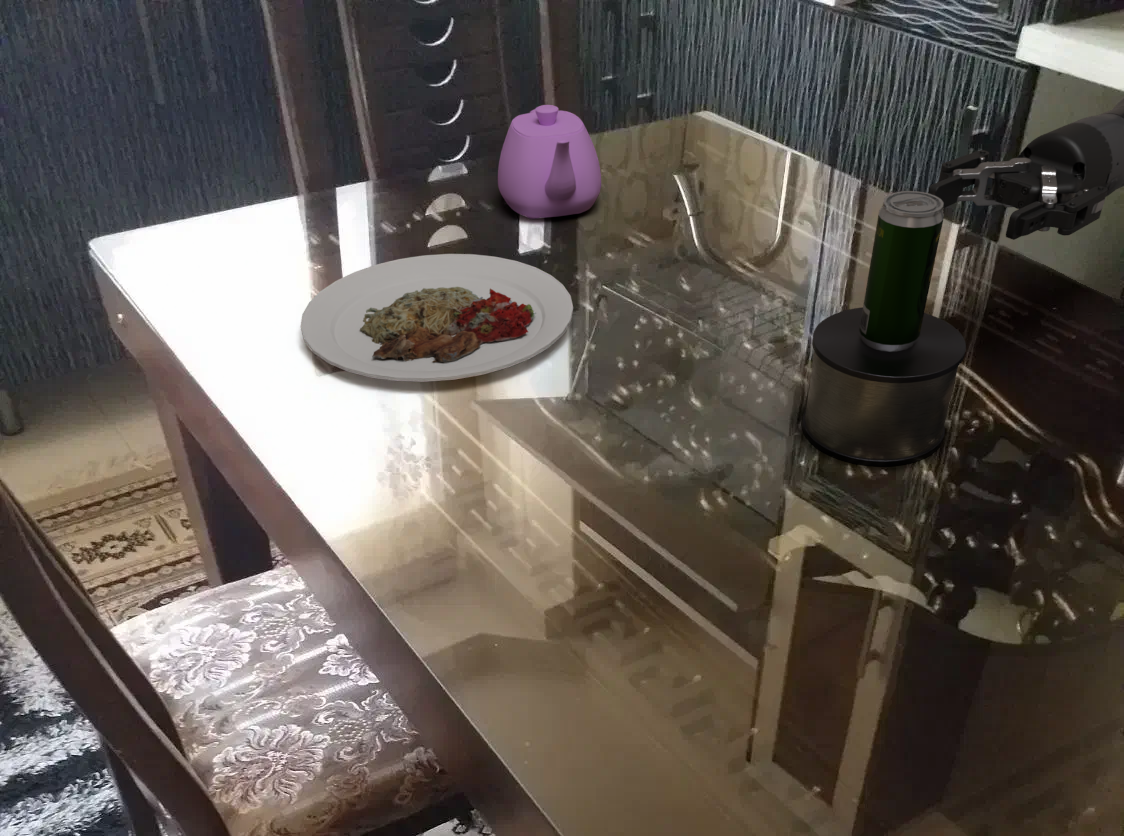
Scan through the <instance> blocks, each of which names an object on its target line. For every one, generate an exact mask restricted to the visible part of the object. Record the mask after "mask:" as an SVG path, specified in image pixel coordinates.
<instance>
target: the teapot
mask: <svg viewBox="0 0 1124 836" xmlns="http://www.w3.org/2000/svg"><path fill="white" fill-rule="evenodd" d="M598 157H599V156H598V154H597V150H596V148H595V145H594V143H593V140H592V139H591V136H590V134H589V132H588V130H587V127H586V125H585V124H584V122H583V120H582V119H581V118H580V117H579V116H578V115H577V114H575V113H573V112H571V111H566V110H559V107H558V106H556V105H553V104H542V105H539V106H536V107H535V108H534V109H532V110H530V111H529V112H527V113H522V114H519V115H516V116H515V117H513V119H512V120H511V122H510V125H509V127H508V130H507V133H506V135H505V139H504V142H503V144H502V148H501V151H500V156H499V161H498V166H497V167H498V168H497V188H498V190H499V193H500V195H501V196H502V198H503V200H504V202H506V204H507V205H508V207H509V208H510V209H511V210H512V211H514V212H515V213H517V214H518V215H520V216H523V217H526V218H527V219H530V220H537V219H538V220H539V219H542V218H556V217H563V216H570V215H578V214H582V213H584V212H586V211H589V210H590V209H591V208H593V206H594V204H595V203H596V201H597V199H598V197H599V195H600V193H601V189H602V171H601V166H600V161H599V158H598Z"/></svg>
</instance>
